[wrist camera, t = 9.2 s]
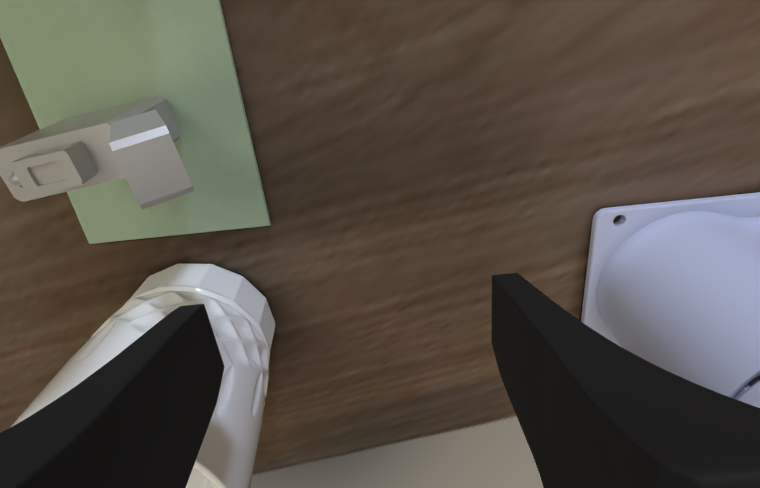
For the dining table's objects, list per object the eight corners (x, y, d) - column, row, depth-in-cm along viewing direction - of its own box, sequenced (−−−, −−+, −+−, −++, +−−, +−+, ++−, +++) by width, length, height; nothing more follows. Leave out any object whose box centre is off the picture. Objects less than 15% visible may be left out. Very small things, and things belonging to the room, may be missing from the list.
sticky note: (211, -41, 16) (209, -41, 16) (270, 223, 21) (270, 225, 21) (-19, -14, 17) (-23, -14, 17) (91, 242, 21) (89, 244, 21)
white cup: (320, 331, 24) (294, 532, 15) (208, 404, 26) (127, 618, 17) (202, 216, 21) (82, 383, 12) (85, 309, 23) (-90, 510, 14)
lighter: (85, 161, 19) (-76, 260, 12) (62, 118, 19) (-122, 198, 12) (254, 121, 19) (187, 201, 12) (238, 76, 18) (157, 132, 11)
